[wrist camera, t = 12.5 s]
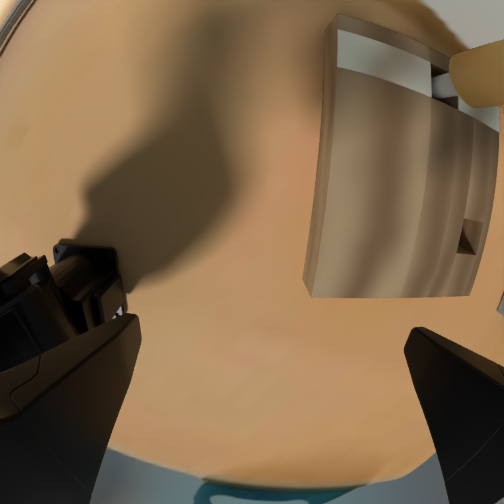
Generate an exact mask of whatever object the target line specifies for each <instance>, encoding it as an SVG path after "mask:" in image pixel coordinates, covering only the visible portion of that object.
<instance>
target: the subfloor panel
mask: <svg viewBox="0 0 504 504" xmlns="http://www.w3.org/2000/svg"><path fill="white" fill-rule="evenodd" d="M450 59H451V58H449V57H447V56H445V55H443V54H441V53H440V52H438V51H436V50H434V49H432V48H430V47H428V46H426V45H424V44H421V43H419V42H417V41H415V40H413V39H410V38H408V37H406V36H403V35H401V34H398V33H396V32H393V31H391V30H388V29H385V28H383V27H380V26H377V25H374V24H371V23H368V22H365V21H362V20H359V19H355V18H352V17H348V16H345V15H341V14H337V15H336V16H335V17H334V19H333V20H332V21H331V23H330V24H329V25H328V27H327V28H326V29H325V64H324V86H323V103H322V118H321V131H320V143H319V154H318V164H317V174H316V183H315V192H314V201H313V209H312V217H311V224H310V232H309V239H308V246H307V253H306V260H305V266H304V273H303V281H304V283H305V286H306V288H307V290H308V292H309V294H310V296H311V297H319V298H422V297H453V296H470V293H471V290H472V287H473V284H474V281H475V278H476V274H477V271H478V268H479V264H480V261H481V257H482V253H483V250H484V246H485V241H486V237H487V233H488V228H489V223H490V218H491V212H492V207H493V200H494V193H495V186H496V177H497V166H498V150H499V133H500V114H499V107H488V108H472V107H470V106H469V105H467V104H466V103H465V102H464V101H463V100H462V99H461V98H460V96H459V95H458V96H452V97H447V98H441V99H434V98H431V97H432V90H431V78H433V77H436V76H439V75H442V74H446V73H449V61H450Z"/></svg>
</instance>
